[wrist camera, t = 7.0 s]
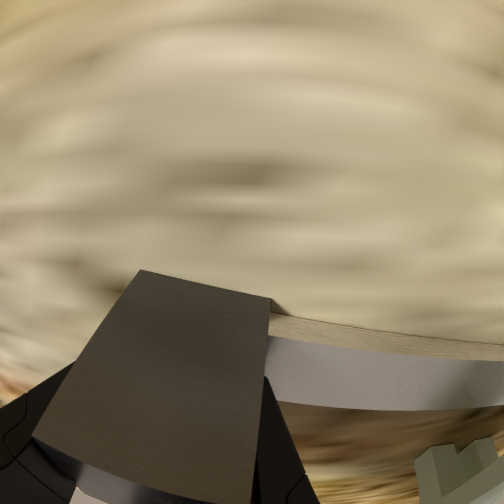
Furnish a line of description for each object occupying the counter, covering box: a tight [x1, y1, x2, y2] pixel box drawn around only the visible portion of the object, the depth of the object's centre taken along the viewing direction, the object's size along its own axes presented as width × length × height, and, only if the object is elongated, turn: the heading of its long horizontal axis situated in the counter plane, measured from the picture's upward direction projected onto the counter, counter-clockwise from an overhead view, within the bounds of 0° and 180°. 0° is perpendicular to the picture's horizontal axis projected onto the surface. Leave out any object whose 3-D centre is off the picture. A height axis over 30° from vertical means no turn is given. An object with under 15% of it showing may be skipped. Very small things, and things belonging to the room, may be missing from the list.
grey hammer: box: [31, 270, 504, 504], centre depth 7 cm, size 4×21×6 cm, turn 80°
